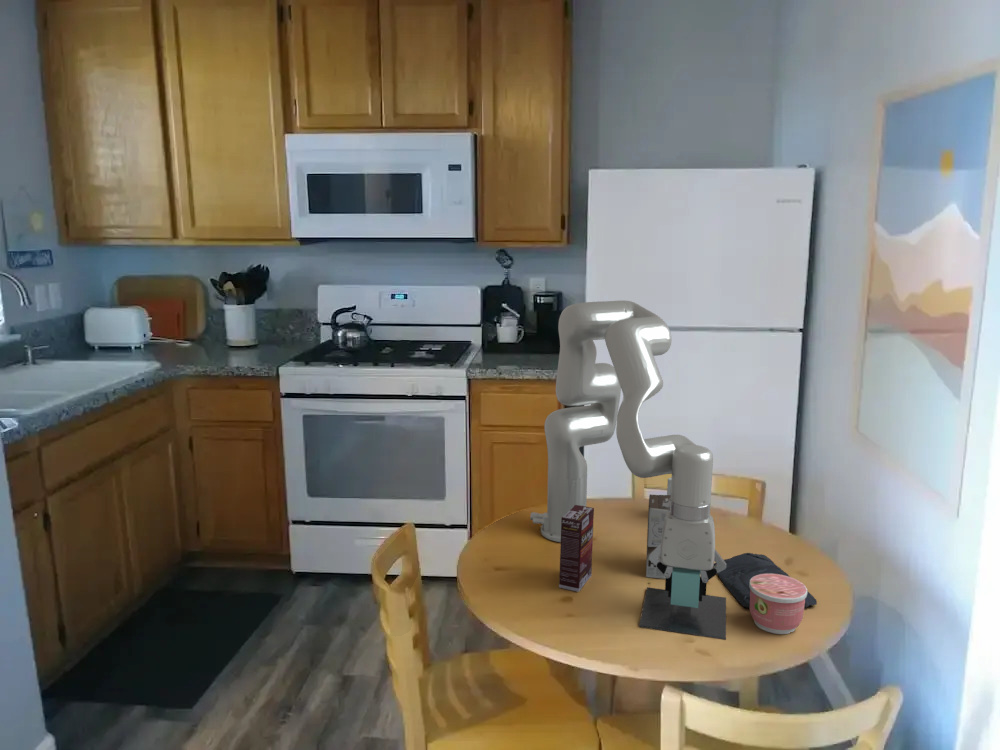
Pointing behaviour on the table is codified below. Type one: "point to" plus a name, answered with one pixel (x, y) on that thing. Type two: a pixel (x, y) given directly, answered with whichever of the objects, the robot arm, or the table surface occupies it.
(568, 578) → the supplement box
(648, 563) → the coffee box
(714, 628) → the brushed steel sheet
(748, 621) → the table surface
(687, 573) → the teal rectangular block
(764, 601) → the container
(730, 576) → the dark fabric pouch
